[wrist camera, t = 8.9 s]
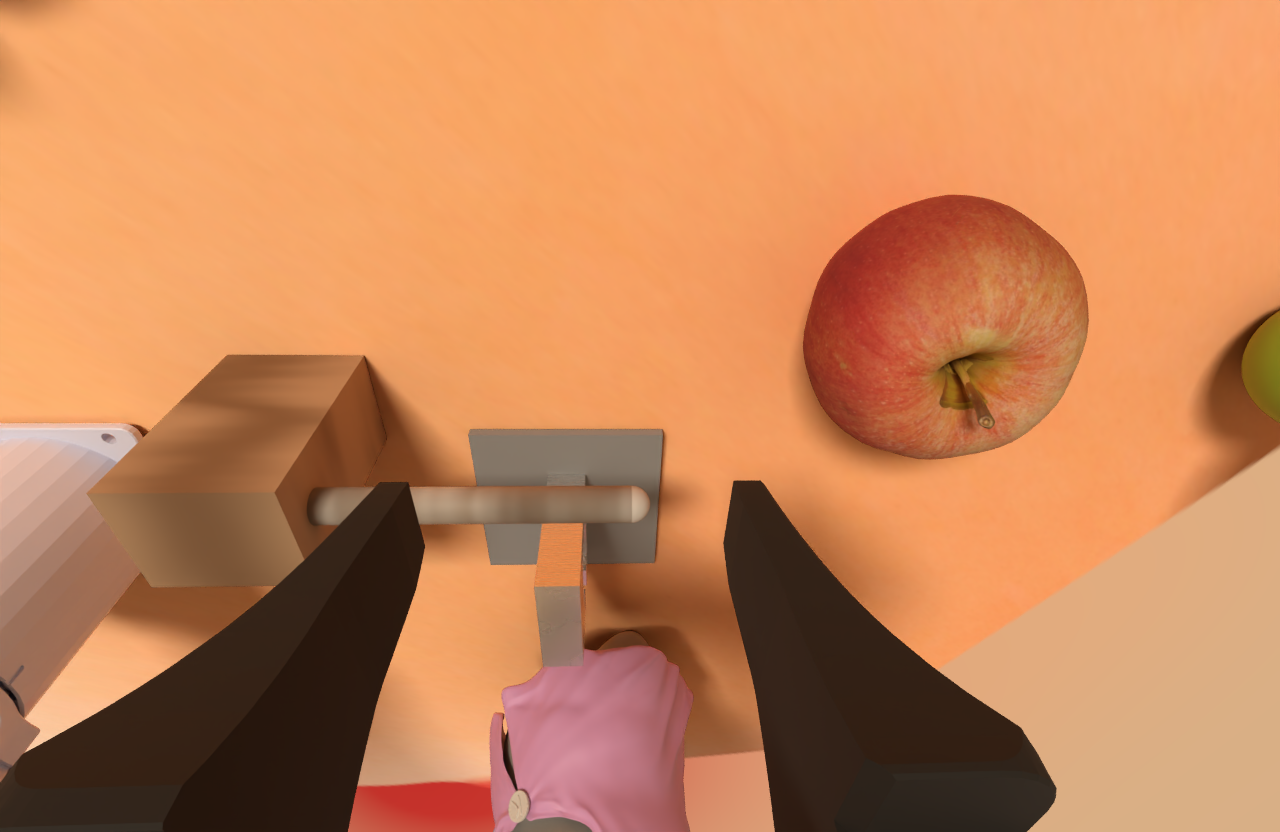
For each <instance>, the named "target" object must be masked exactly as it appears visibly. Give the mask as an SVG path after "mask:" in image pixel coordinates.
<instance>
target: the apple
mask: <svg viewBox="0 0 1280 832" xmlns="http://www.w3.org/2000/svg"><path fill="white" fill-rule="evenodd" d="M1088 321H1089V319H1088V302H1087V294H1086V290H1085V285H1084V282H1083V278H1082V276H1081V274H1080V271H1079V269H1078V267H1077V266H1076V264H1075V262H1074V261H1073V259H1072V258H1071V256H1070V255H1069V254H1068V252H1067V251H1066V250H1065V249H1064V247H1063V246H1062V245H1061V244H1060V243H1059V242H1058V241H1057V240H1055V239H1054V238H1053V237H1052V236H1051V235H1049V234H1048V233H1047V232H1046V231H1045V230H1043V229H1042V228H1041V227H1040V226H1038V225H1037V224H1036V223H1034V222H1033V221H1032V220H1030V219H1029V218H1028V217H1026V216H1025V215H1023V214H1022V213H1020V212H1019V211H1017V210H1015V209H1013V208H1011V207H1010V206H1007V205H1004V204H1001V203H999V202H996V201H993V200H989V199H986V198H980V197H974V196H967V195H945V196H939V197H933V198H928V199H925V200H921V201H918V202H915V203H911V204H909V205H906V206H903V207H900V208H897V209H895V210H892V211H890V212H888V213H886V214H884V215H883V216H881V217H879V218H877V219H876V220H875V221H873V222H872V223H870V224H869V225H868V226H866V227H865V228H863V229H862V230H861V231H860V232H858V233H857V234H856V235H855V236H853V237H852V238H851V239H850V240H849V241H848V242H847V243H845V244H844V245H843V246H842V247H841V248H840V249H839V250H838V251H837V253H836V254H835V255H834V256H833V257H832V259H831V260H830V261H829V263H828V264H827V266H826V267H825V269H824V271H823V273H822V275H821V277H820V279H819V281H818V284H817V286H816V289H815V292H814V296H813V300H812V304H811V307H810V311H809V314H808V318H807V322H806V327H805V331H804V341H803V351H804V359H805V364H806V367H807V371H808V375H809V378H810V381H811V384H812V387H813V389H814V391H815V394H816V396H817V398H818V400H819V402H820V404H821V406H822V407H823V409H824V410H825V412H826V413H827V414H828V415H829V417H830V418H831V419H832V420H833V421H834V422H835V423H836V424H837V425H838V426H839V427H841V428H842V429H843V430H844V431H845V432H847V433H848V434H850V435H851V436H853V437H854V438H856V439H857V440H859V441H860V442H862V443H865V444H867V445H869V446H872V447H874V448H878V449H882V450H885V451H889V452H893V453H896V454H899V455H902V456H907V457H912V458H917V459H943V458H951V457H957V456H963V455H969V454H975V453H980V452H984V451H988V450H992V449H995V448H998V447H1001V446H1003V445H1006V444H1008V443H1011V442H1013V441H1014V440H1016V439H1018V438H1020V437H1021V436H1023V435H1024V434H1026V433H1027V432H1028V431H1030V430H1031V429H1032V428H1033V427H1034V426H1036V425H1037V424H1038V423H1039V422H1040V421H1041V420H1042V419H1043V418H1044V417H1045V416H1047V415H1048V414H1049V412H1050V411H1051V410H1052V409H1053V408H1054V407H1055V406H1056V405H1057V403H1058V402H1059V400H1060V399H1061V397H1062V396H1063V394H1064V392H1065V390H1066V388H1067V386H1068V384H1069V382H1070V380H1071V378H1072V375H1073V373H1074V371H1075V369H1076V367H1077V364H1078V362H1079V360H1080V357H1081V354H1082V352H1083V348H1084V345H1085V342H1086V338H1087V331H1088Z"/></svg>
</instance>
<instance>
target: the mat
mask: <svg viewBox="0 0 1280 832" xmlns="http://www.w3.org/2000/svg"><path fill="white" fill-rule="evenodd" d="M468 436H469V442H470V448H471V454H472V459H473V465H474V471H475V477H476V482H477V486H547V480H548V474H551V473H585V477H586V486H637V487H639V488H641V489H643V490H644V491H645V492H646V493H647V495H648V497H649V500H650V508H649V511H648V513H647V515H646V516H645V517H644V518H643V519H642V520H640V521H638V522H635V523H587V542H588V559H587V564H616V563H654V561H655V546H656V531H657V516H658V501H659V486H660V471H661V456H662V441H663V432H662V429H470V431H469V435H468ZM541 528H542V524H484V529H485V534H486V540H487V546H488V552H489V557H490V563H491V565H529V564H537V560H538V552H539V544H540V536H541Z"/></svg>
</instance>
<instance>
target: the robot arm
mask: <svg viewBox="0 0 1280 832" xmlns="http://www.w3.org/2000/svg"><path fill="white" fill-rule="evenodd" d="M142 438H143V436H142V435H141V433H140V432H139V430H138V429H136V428H135V427H134V426H131V425H129V424H124V423H0V832H348V828H349V822H350V818H351V813H352V808H353V803H354V798H355V793H356V789H357V784H358V780H359V775H360V771H361V766H362V762H363V758H364V753H365V749H366V745H367V741H368V736H369V732H370V728H371V724H372V720H373V716H374V712H375V708H376V704H377V701H378V698H379V694H380V691H381V688H382V685H383V682H384V679H385V676H386V673H387V670H388V668H389V665H390V662H391V659H392V656H393V653H394V651H395V648H396V645H397V642H398V639H399V637H400V634H401V631H402V628H403V625H404V623H405V620H406V617H407V614H408V611H409V608H410V605H411V602H412V599H413V596H414V593H415V591H416V587H417V582H418V578H419V574H420V569H421V564H422V559H423V554H424V549H425V544H424V540H423V537H422V533H421V529H420V525H419V521H418V518H417V514H416V510H415V506H414V502H413V499H412V495H411V491H410V487H409V483H408V482H380V483H379V484H378V485H377V486H376V487H375V488H374V489H373V490H372V491H371V492H370V493H369V494H368V495H367V496H366V497H365V498H364V499H363V500H362V501H361V502H360V503H359V504H358V506H357V507H356V508H355V509H354V510H353V511H352V512H351V513H350V514H349V515H348V516H347V517H346V518H345V519H344V520H343V521H342V522H341V523H340V524H339V526H338V527H337V528H336V529H335V530H334V531H333V532H332V533H331V534H330V535H329V536H328V537H327V538H326V539H325V540H324V541H323V542H322V543H321V544H320V545H319V546H318V547H317V548H316V549H315V550H314V551H313V552H312V553H311V554H310V555H309V556H308V557H307V558H306V559H305V560H304V561H303V562H302V563H301V564H299V565H298V566H297V567H296V568H295V569H294V570H293V571H292V572H291V573H290V574H289V575H288V576H286V577H285V578H284V579H283V580H282V581H281V582H280V583H279V584H278V585H277V586H276V587H275V588H273V589H272V590H271V591H270V592H269V593H268V594H267V595H265V596H264V597H263V598H262V599H261V600H260V601H258V602H257V603H256V604H255V605H254V606H252V607H251V608H250V609H249V610H247V611H246V612H245V613H244V614H242V615H241V616H240V617H239V618H237V619H236V620H235V621H234V622H232V623H231V624H230V625H229V626H227V627H226V628H225V629H223V630H222V631H221V632H219V633H218V634H216V635H215V636H214V637H212V638H211V639H209V640H208V641H207V642H205V643H204V644H202V645H201V646H200V647H198V648H197V649H195V650H194V651H193V652H191V653H190V654H188V655H187V656H185V657H184V658H183V659H181V660H180V661H178V662H177V663H176V664H174V665H173V666H171V667H170V668H168V669H167V670H165V671H164V672H162V673H161V674H159V675H158V676H156V677H154V678H153V679H151V680H150V681H148V682H147V683H145V684H144V685H142V686H141V687H139V688H137V689H136V690H134V691H132V692H131V693H129V694H128V695H126V696H124V697H123V698H121V699H119V700H118V701H116V702H115V703H113V704H111V705H110V706H108V707H106V708H104V709H103V710H101V711H99V712H98V713H96V714H94V715H93V716H91V717H89V718H87V719H85V720H84V721H82V722H80V723H78V724H76V725H75V726H73V727H71V728H69V729H67V730H66V731H64V732H62V733H60V734H58V735H57V736H55V737H53V738H51V739H49V740H48V741H46V742H44V743H42V744H40V745H39V746H37V747H35V748H33V749H31V750H29V751H27V752H25V751H26V749H27V748H28V747H29V745H30V744H31V743H32V742H33V740H34V739H35V738H36V736H37V735H38V734H39V732H40V729H39V728H37V727H36V726H34V725H32V724H30V723H29V722H28V721H26V720H25V718H26V716H27V715H28V714H29V712H30V711H31V710H32V709H33V707H34V706H35V705H36V704H37V702H38V701H39V700H40V699H41V697H42V696H43V695H44V694H45V692H46V691H47V690H48V689H49V687H50V686H51V685H52V683H53V682H54V681H55V680H56V678H57V677H58V676H59V675H60V673H61V672H62V671H63V670H64V668H65V667H66V666H67V665H68V663H69V662H70V661H71V659H72V658H73V657H74V656H75V654H76V653H77V652H78V651H79V649H80V648H81V647H82V646H83V644H84V643H85V642H86V641H87V639H88V638H89V637H90V635H91V634H92V633H93V632H94V630H95V629H96V628H97V627H98V625H99V624H100V623H101V622H102V620H103V619H104V618H105V617H106V615H107V614H108V613H109V611H110V610H111V609H112V608H113V606H114V605H115V604H116V603H117V601H118V600H119V599H120V598H121V596H122V595H123V594H124V593H125V591H126V590H127V589H128V587H129V586H130V585H131V584H132V582H133V581H134V580H135V579H136V577H137V576H138V575H139V574H140V570H139V569H138V567H137V566H136V565H135V563H134V562H133V560H132V559H131V557H130V556H129V554H128V553H127V552H126V550H125V549H124V547H123V546H122V544H121V543H120V541H119V540H118V539H117V537H116V536H115V534H114V533H113V531H112V530H111V529H110V527H109V526H108V524H107V523H106V521H105V520H104V518H103V517H102V516H101V514H100V513H99V511H98V510H97V508H96V507H95V505H94V504H93V503H92V501H91V500H90V498H89V497H88V495H87V494H86V493H87V492H88V491H89V490H90V489H91V488H92V487H93V486H94V485H95V484H96V483H97V482H98V481H99V480H100V479H101V478H102V477H103V476H105V475H106V474H107V473H108V472H109V471H110V470H111V469H112V468H113V467H114V466H115V465H116V464H117V463H118V462H119V461H120V460H121V459H122V458H123V457H124V456H125V455H126V454H127V453H128V452H129V451H130V450H131V449H132V448H133V447H134V446H135V445H136V444H137V443H138V442H139V441H140V440H141V439H142ZM723 544H724V552H725V560H726V568H727V575H728V583H729V588H730V592H731V596H732V600H733V604H734V608H735V612H736V616H737V620H738V624H739V628H740V632H741V636H742V640H743V644H744V647H745V651H746V655H747V659H748V663H749V667H750V671H751V675H752V679H753V684H754V689H755V694H756V699H757V706H758V712H759V719H760V725H761V732H762V738H763V745H764V752H765V759H766V766H767V773H768V781H769V788H770V796H771V804H772V812H773V820H774V828H775V832H1027V831H1028V830H1029V829H1030V828H1031V827H1032V826H1033V825H1034V824H1035V823H1036V822H1037V821H1038V820H1039V819H1040V818H1041V817H1042V816H1043V815H1044V814H1045V813H1046V812H1047V811H1048V810H1049V808H1050V807H1051V805H1052V804H1053V803H1054V801H1055V798H1056V787H1055V785H1054V783H1053V781H1052V779H1051V778H1050V776H1049V774H1048V772H1047V770H1046V768H1045V766H1044V764H1043V763H1042V761H1041V759H1040V757H1039V755H1038V754H1037V752H1036V750H1035V749H1034V747H1033V746H1032V744H1031V743H1030V742H1029V740H1028V738H1027V737H1026V735H1025V734H1024V732H1023V730H1022V729H1021V728H1020V727H1019V726H1018V725H1016V724H1014V723H1013V722H1011V721H1010V720H1008V719H1007V718H1005V717H1004V716H1002V715H1001V714H999V713H998V712H996V711H995V710H993V709H992V708H990V707H989V706H987V705H986V704H984V703H983V702H981V701H979V700H978V699H976V698H975V697H973V696H972V695H970V694H969V693H967V692H966V691H965V690H963V689H962V688H960V687H959V686H958V685H956V684H955V683H954V682H952V681H951V680H950V679H948V678H947V677H945V676H944V675H943V674H941V673H940V672H939V671H937V670H936V669H935V668H933V667H932V666H931V665H930V664H928V663H927V662H926V661H925V660H923V659H922V658H921V657H920V656H919V655H917V654H916V653H915V652H914V651H912V650H911V649H910V648H909V647H908V646H906V645H905V644H904V643H903V642H902V641H900V640H899V639H898V638H897V637H896V636H894V635H893V634H892V633H891V632H890V631H889V630H888V629H887V628H885V627H884V626H883V625H882V624H881V623H880V622H879V621H878V620H877V619H876V618H875V617H873V616H872V615H871V614H870V613H869V612H868V611H867V610H866V609H865V608H864V607H863V606H862V605H861V604H860V603H859V602H858V601H857V600H856V599H855V598H854V597H853V596H852V595H851V594H850V593H849V592H848V590H847V589H846V588H845V587H844V586H843V585H842V584H841V583H840V582H839V581H838V580H837V578H836V577H835V576H834V575H833V574H832V573H831V572H830V571H829V569H828V568H827V567H826V566H825V565H824V564H823V562H822V561H821V560H820V559H819V558H818V557H817V555H816V554H815V553H814V552H813V550H812V549H811V548H810V547H809V545H808V544H807V543H806V542H805V540H804V539H803V538H802V537H801V535H800V534H799V533H798V531H797V530H796V529H795V527H794V526H793V525H792V523H791V522H790V521H789V519H788V518H787V516H786V515H785V514H784V512H783V511H782V510H781V508H780V507H779V505H778V504H777V502H776V501H775V500H774V498H773V497H772V495H771V494H770V492H769V491H768V489H767V488H766V486H765V485H764V484H763V483H762V482H761V481H733V487H732V494H731V500H730V506H729V512H728V518H727V524H726V531H725V537H724V543H723ZM24 752H25V753H24Z"/></svg>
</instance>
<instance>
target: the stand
mask: <svg viewBox="0 0 1280 832" xmlns="http://www.w3.org/2000/svg"><path fill="white" fill-rule="evenodd" d="M386 440H387V438H386V434H385V431H384V427H383V423H382V420H381V416H380V412H379V409H378V405H377V401H376V398H375V394H374V391H373V387H372V383H371V380H370V376H369V372H368V369H367V365H366V361H365V358H364V356H328V355H227V356H226V357H225V358H224V359H223V360H222V361H221V362H220V363H219V364H218V365H217V366H216V367H215V368H214V369H212V370H211V371H210V372H209V373H208V374H207V375H206V376H205V377H204V378H203V379H202V380H201V381H200V382H199V383H198V384H197V385H196V386H195V387H194V388H193V389H192V390H191V391H190V392H189V393H188V394H187V395H186V396H185V397H184V398H183V399H182V400H181V401H180V402H179V403H178V404H177V405H176V406H175V407H174V408H173V409H172V410H171V411H170V412H169V413H168V414H167V415H166V416H165V417H164V418H163V419H162V420H161V421H160V422H158V423H157V424H156V425H155V426H154V427H153V428H152V429H151V430H150V431H149V432H148V433H147V434H146V435H145V436H144V437H143V438H142V439H141V440H140V441H139V442H138V443H137V444H136V445H135V446H134V447H133V448H132V449H131V450H130V451H129V452H128V453H127V454H126V455H125V456H124V457H123V458H122V459H121V460H120V461H119V462H118V463H117V464H116V465H115V466H114V467H113V468H112V469H111V470H110V471H109V472H108V473H107V474H106V475H105V476H103V477H102V478H101V479H100V480H99V481H98V482H97V483H96V484H95V485H94V486H93V487H92V488H91V489H90V490H89V491H88V492H87V493H86V494H87V495H88V497H89V498H90V500H91V501H92V503H93V504H94V505H95V507H96V508H97V510H98V511H99V513H100V514H101V516H102V517H103V518H104V520H105V521H106V523H107V524H108V526H109V527H110V529H111V530H112V531H113V533H114V534H115V536H116V537H117V539H118V540H119V541H120V543H121V544H122V546H123V547H124V549H125V550H126V552H127V553H128V554H129V556H130V557H131V559H132V560H133V562H134V563H135V565H136V566H137V567H138V569H139V570H140V572H141V573H142V575H143V576H144V578H145V579H146V580H147V582H148V583H149V585H150V586H151V588H153V587H230V586H277V585H278V584H279V583H280V582H281V581H282V580H283V579H284V578H285V577H286V576H288V575H289V574H290V573H291V572H292V571H293V570H294V569H295V568H296V567H297V566H298V565H299V564H301V563H302V562H303V561H304V560H305V559H306V558H307V557H308V556H309V555H310V554H311V553H312V552H313V551H314V550H315V549H316V548H317V547H318V546H319V545H320V544H321V543H322V542H323V541H324V540H325V539H326V538H327V537H328V536H329V535H330V534H331V533H332V532H333V531H334V530H335V529H336V528H337V527H338V526H339V524H340V523H341V522H342V521H343V520H344V519H345V518H346V517H347V516H348V515H349V514H350V513H351V512H352V511H353V510H354V509H355V508H356V507H357V506H358V504H359V503H360V502H361V501H362V500H363V499H364V498H365V497H366V496H367V495H368V494H369V493H370V492H371V491H372V490H373V489H374V488H375V487H364V485H365V483H366V481H367V479H368V477H369V475H370V473H371V470H372V468H373V466H374V464H375V462H376V460H377V458H378V456H379V454H380V452H381V450H382V448H383V446H384V444H385V442H386ZM410 491H411V495H412V499H413V502H414V506H415V510H416V514H417V518H418V521H419V525H429V524H552V523H635V522H638V521H640V520H642V519H643V518H644V517H645V516H646V515H647V513H648V511H649V508H650V500H649V497H648V495H647V493H646V492H645V491H644V490H643V489H641V488H639V487H637V486H450V487H410Z"/></svg>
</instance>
